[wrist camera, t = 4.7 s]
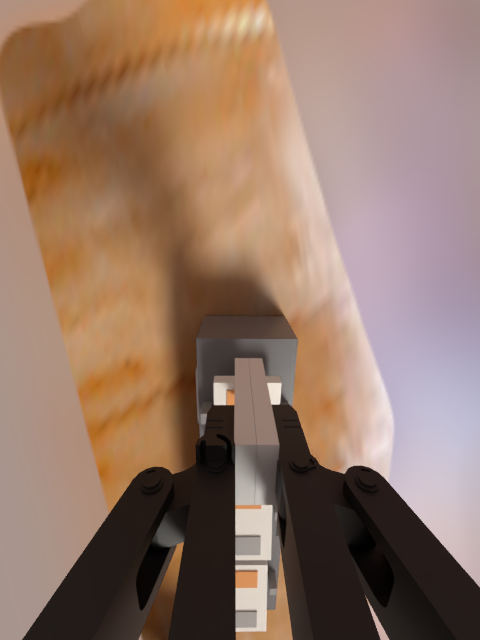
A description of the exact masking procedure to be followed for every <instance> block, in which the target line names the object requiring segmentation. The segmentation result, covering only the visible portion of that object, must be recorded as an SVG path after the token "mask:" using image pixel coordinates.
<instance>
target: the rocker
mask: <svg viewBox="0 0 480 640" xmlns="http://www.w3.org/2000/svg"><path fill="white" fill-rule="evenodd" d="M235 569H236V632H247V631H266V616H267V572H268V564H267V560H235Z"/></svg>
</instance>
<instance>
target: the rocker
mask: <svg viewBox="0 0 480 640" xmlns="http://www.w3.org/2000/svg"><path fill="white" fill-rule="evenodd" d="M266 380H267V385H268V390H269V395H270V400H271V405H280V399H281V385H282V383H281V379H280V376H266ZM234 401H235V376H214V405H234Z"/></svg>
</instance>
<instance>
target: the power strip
mask: <svg viewBox="0 0 480 640" xmlns="http://www.w3.org/2000/svg"><path fill="white" fill-rule="evenodd" d="M297 343H298V339H297V337H296V335H295V333H294V332H293V330H292V328H291V326H290V325H289V323H288V321H287V319H286V318H285V316H226V315H205V316H204V319H203V321H202V324H201V327H200V329H199V332H198V335H197V338H196V348H197V366H196V370H195V373H196V398H197V423H199V428H200V438H201V437H202V436H203V435H204V431H205V424H206V418H207V412H208V411H209V409H210V408H211V407H212V406H213V405H214V376H235V358H248V359H249V358H262V360H263V365H264V370H265V375H266V376H280V379H281V383H282V385H281V399H280V405H291V406H292V403H293V391H294V379H295V367H296V355H297ZM277 511H278V508H277V501H276V502H275V505H272V545H271V560H267V564H268V572H267V610H275V607H276V595H277V583H278V571H279V559H280V540H279V536H276V525H277Z"/></svg>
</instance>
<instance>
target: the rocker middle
mask: <svg viewBox="0 0 480 640" xmlns="http://www.w3.org/2000/svg"><path fill="white" fill-rule="evenodd" d="M271 545H272V505H255V503H254V505H235V560H271Z"/></svg>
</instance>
